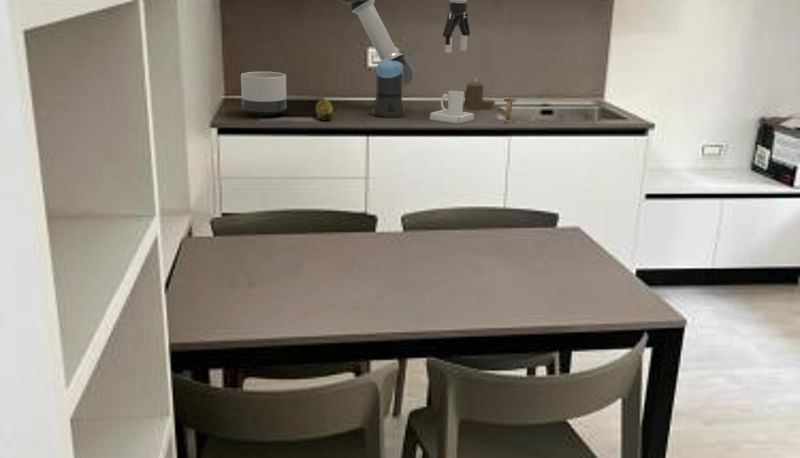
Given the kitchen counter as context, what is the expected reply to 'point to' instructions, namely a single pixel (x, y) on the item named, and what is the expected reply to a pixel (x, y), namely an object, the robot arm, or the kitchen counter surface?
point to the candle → (476, 97)
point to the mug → (453, 103)
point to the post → (509, 108)
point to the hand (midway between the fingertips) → (455, 51)
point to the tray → (451, 117)
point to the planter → (263, 92)
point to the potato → (324, 109)
